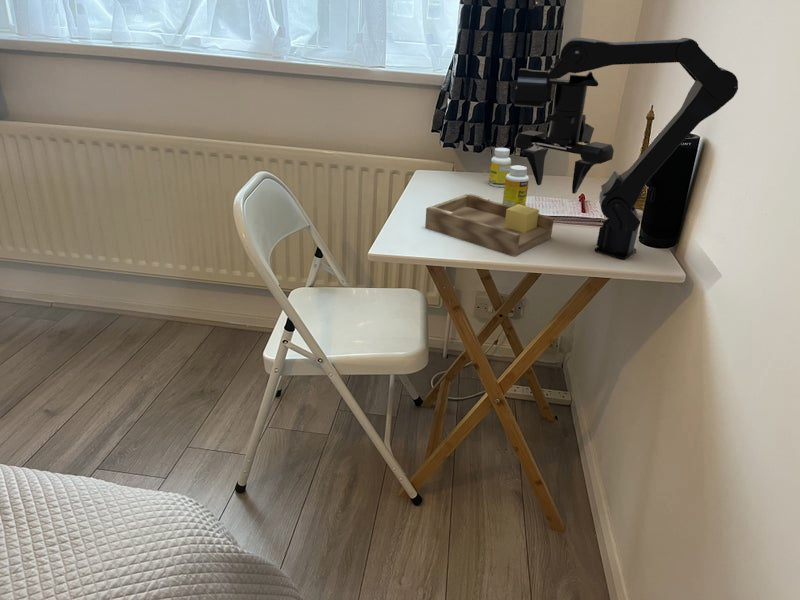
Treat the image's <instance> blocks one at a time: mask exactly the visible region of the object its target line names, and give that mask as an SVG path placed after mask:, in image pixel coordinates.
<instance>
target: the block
mask: <svg viewBox="0 0 800 600" xmlns="http://www.w3.org/2000/svg"><path fill="white" fill-rule="evenodd" d="M539 212H540V209H538V208H534V207H532V206H531V207H530V206H527V205H525V206H524V205H520V204H518V205H516V206H513V207H511V208H508V209H507V210H506V218H505V227H506V228H510V229H513V230H516V231H520V232H523V233H525V232H528V231H530V230H532V229H534V228H536V227H537V220H538V214H540V213H539Z"/></svg>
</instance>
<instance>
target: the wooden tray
mask: <svg viewBox="0 0 800 600" xmlns="http://www.w3.org/2000/svg"><path fill="white" fill-rule="evenodd" d="M508 208H511V206H508V205H504V204H503V203H500V202H496V201H492V200H490V198H488V197H484V196H480V195H476V194H473V193H468V194H467V193H466V194H463V195H460V196H458V197H455V198H452V199H449V200H446V201H443V202H441V203H438V204H435V205H431V206H429V207H426V208H425V209H426V210H425V224H424V225H425V227H424V228H425V229H429V230H432V231H434V232H436V233H437V232H438V233H440V234H443V235H447V236H451V237H453V238H456V239H460V240H462V241H465V242H468V243H471V244H475V245H478V246H481V247H484V248H486V247H487V248H486V249H490V250H493V251H495V252H500V253H502V254H505V255H508V256H510V257H511V256H512V257H517V256H519V255H521V254H522V253H524V252H526V251H528V250H531V249H532V248H534V247H535V246H538V245H540V244H541V243H543V242H546V241H547V240H548V241H549V239H551V238H552V233H553V226H554V222H555V221H554V220H555V218H554V217H553V216H548V215H544V214H540V213H539V214H538V220H537V227H536V228H534V229H532V230H530V231H528V232H525V233H523V232H520V231H516V230H513V229H510V228H506V227H505V218H506V210H507V209H508Z"/></svg>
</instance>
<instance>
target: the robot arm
mask: <svg viewBox="0 0 800 600" xmlns="http://www.w3.org/2000/svg"><path fill="white" fill-rule="evenodd" d="M699 45H700V44H699V43H698V41H696V40H694V39H692V38H688V37H681V38H677V39H663V40H660V39H659V40H640V41H639V40H638V41H619V42H618V41H616V42H612V41H606V40H600V39H595V38H594V39H593V38H586V37H579V36H578V37H576V36H575V37H572V38H570V39H568V40H567V41H566V42H565V43H564V44H563V45H562V48H561V49H560V53H559V57H558V59H556V61H555V62H554V63H553V65H552V64H550V68H549V69H548V70H537V69H536V70H535V69H530V68H529V69H528V68H520V69H518V77H517V83H516V87H515V89H514V98H513V99H514V103H513V104H514V105H513V106H515V107H524V108H525V107H526V108H527V107H528V108H539V109H540V108H541V109H542V108H544V105H547V103H548V104H549V103H551V98H552V89H553V85H555V90H554V96H553V97H554V98H553V105H552V111H551V114H548V119H547V121H550V127H549V134H548V135H546V133H545V132H542V131H537V130H531V129H530V130H526V131H523V132H519V133H518V134H517V135H516V136H515V139H514V148H517V149H520V150H521V153H522V154H524V155H525V156H526V159H527V160H528V163H529V165H530V167H531V171H532V173H533V177H534V179H535V182H536V183H535V184H536V185H537V186H541V185H542V182H543V178H544V177H543V176H544V169H545V160H546V159H545V158H546V156H547V154H548V151H549V150H555V151H560V152H565V153H571V154H574V155H575V154H576V155H580V159H579V160H576V161H574V169H573V175H572V176H573V177H572V185H571V186H572V187H571V194H576V193H578V190H579V188H580V187H581V185H582V183H583V181H584V180H585V177H586V176H587V174H588V173H589V171H590V170H591V168H592V167H593V166H595V165H598V164H599V165H600V164H604V163H606V162H609V161H611V160H613V157H614V152H615V151H614V147H613V145H612V144H610V143H605V142H604V143H603V142H598V141H593V142H591V139H592V137H593V133H594V131H595V128H594V127H593V126H591V125H590V124H587V123H586V119H587V117H586V114H584V110H585V104H586V96H587V92H588V91H587V89H588V87H598V86H599V82H598V80H597V79H596V78H595V76H594V75H593V70H597V69H600V68H604V67H610V66H613V65H614V66H616V65H617V66H618V65H642V64H666V63H667V64H669V63H671V64H673V63H679V64H680V66H681V67H682V69H684V70H685V71H686V73H687V74H688V75H689V76H690V77H691V79H692V80H693V81H694V82H693V84H692V86H691V87H690V88H689V90H688V92H687V94H686V97H685V99H684V101H683V103H682V105H681V107H680V109H679V110H678V111H677V112H676V114H674V116H673V117H672V118H671V119H670V121H669V122H668V123H667V124H666V125H665V126H664V127H663V128H662V130H661V131H660V132H659V133H658V135H656V137H655V138H654V139H653V140H652V142H651V143H650V144H649V145H648V146H647V147H646V149H645V150H644V151H643V152H642V153H641V155H639V156H638V158H637V159H636V160H635V161H634V163H633V164H632V165H631V166H630V167H629V168H628V169H627V170H626V171H624V172H622V173H621V174H619V173H618V172H617V171H615V170H614V171H613V172H612V174H611V175H610V177H609V178H608V179H607V181H606V182H604V183H603V184H602V185H600V187H601V191H600V193H599V197H598V198H599V204H600V205H599V206H600V210H601V213H602V215H603V216H604V217H606V218H607V219H605V220H603V222H602V226H600V227H599V229H598V234H597V235H598V236H597V241H596V246H597V247H595V248H594V251H595V252H596V253H600V254H604V255H608V256H611V257H614V258H618V259H621V260H626V259H627V258H629V257H631V256H632V255H633V254H635V253H636V252H637V248H635V245H636V240H637V236H638V232H639V228H640V224H641V220H640V216H639V213H638V211H637V208H636V207H635V205H636V204H637V202H638V201H639V198H640V196H641V195H642V194H641V193H643V189H644V188H645V186H646V184H647V183H648V182H649V181H650V180H651V178H653V176H654V174H655V173H657V172H658V170H659V169H660V168H661V166H663V165H664V163H666V161H667V160H668V159H669V158H670V157H671V156H672V155H673V154H674V152H675V151H676V150H677V149H678V148H679V147H680V146H681V144H682V143H684V141H685V140H686V139H687V138H688V137H689V135H690V134H691V133H692V132H693V130H694V129H696V127H697V126H698V125H699V124H700V123H701V122H702V121H704V120H706V119H707V118H709V117H711V116H712V115H714V114H715V113H717V112H718V111H719V110H720V109H721V108H723V107H724V106H726V104H727V103H729V102H730V101H731V100H732V99H733V98H734V97H735V96H736V94H737V93H738V89H739V81H738V77H737V75H735V73H733V72H732V71H730V70H728V69H725V68H723V67H720V66H718V64H717V63H715V62H714V60H713V59H712V58H711V57H710V56H708V55H707V54H706V53H705V51H703V49H701V47H700V46H699ZM583 72H588V73H586V74H585V75H580V73H583ZM569 73H570V74H569ZM568 74H569V78H568V79H560V78H562V77H564V76H566V75H568ZM578 74H579V75H578ZM581 143H582V144H581ZM583 143H584V144H583Z"/></svg>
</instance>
